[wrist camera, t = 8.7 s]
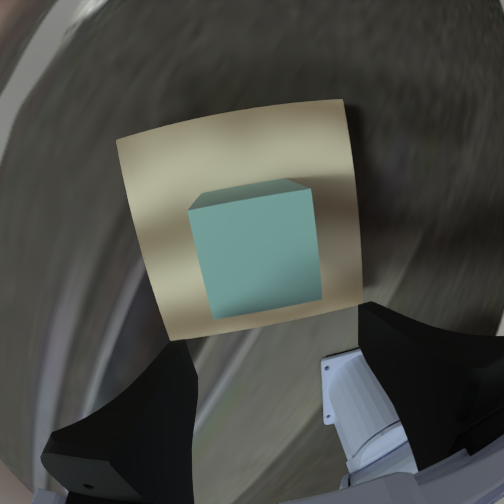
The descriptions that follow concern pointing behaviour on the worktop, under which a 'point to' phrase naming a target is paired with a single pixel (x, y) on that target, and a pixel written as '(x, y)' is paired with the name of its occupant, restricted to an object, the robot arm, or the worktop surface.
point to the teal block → (257, 247)
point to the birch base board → (236, 174)
